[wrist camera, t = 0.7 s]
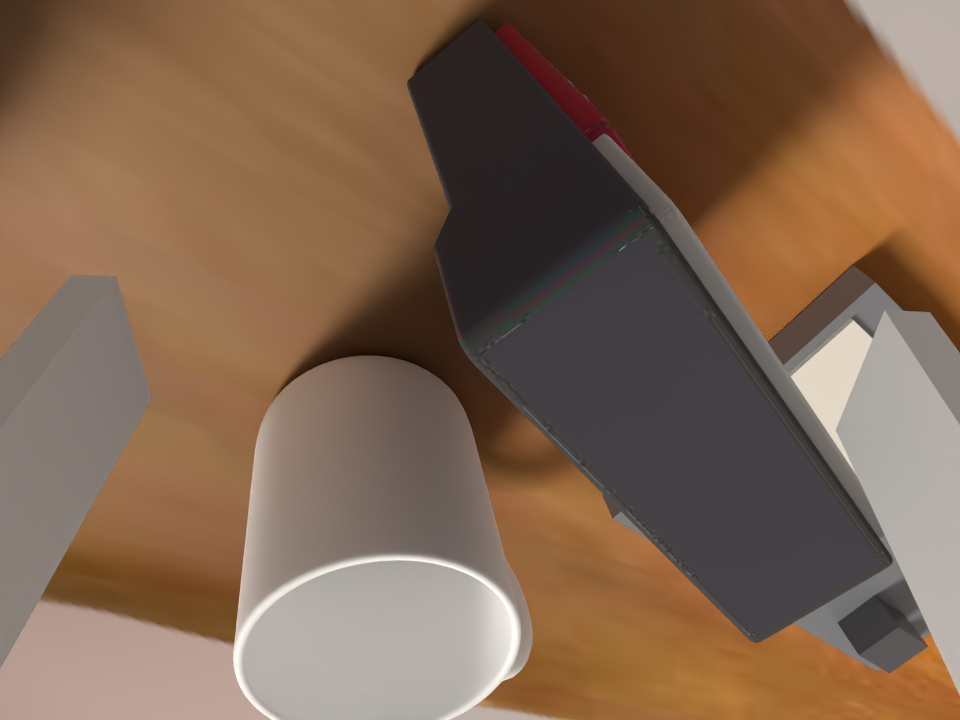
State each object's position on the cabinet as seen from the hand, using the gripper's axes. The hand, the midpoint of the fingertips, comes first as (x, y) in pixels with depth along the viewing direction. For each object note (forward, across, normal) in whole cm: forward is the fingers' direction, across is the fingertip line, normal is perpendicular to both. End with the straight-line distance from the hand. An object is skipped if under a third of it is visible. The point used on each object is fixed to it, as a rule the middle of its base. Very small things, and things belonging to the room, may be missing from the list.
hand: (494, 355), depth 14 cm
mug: (+12, -4, -14) cm, 19 cm away
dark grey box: (+14, +1, -3) cm, 14 cm away
